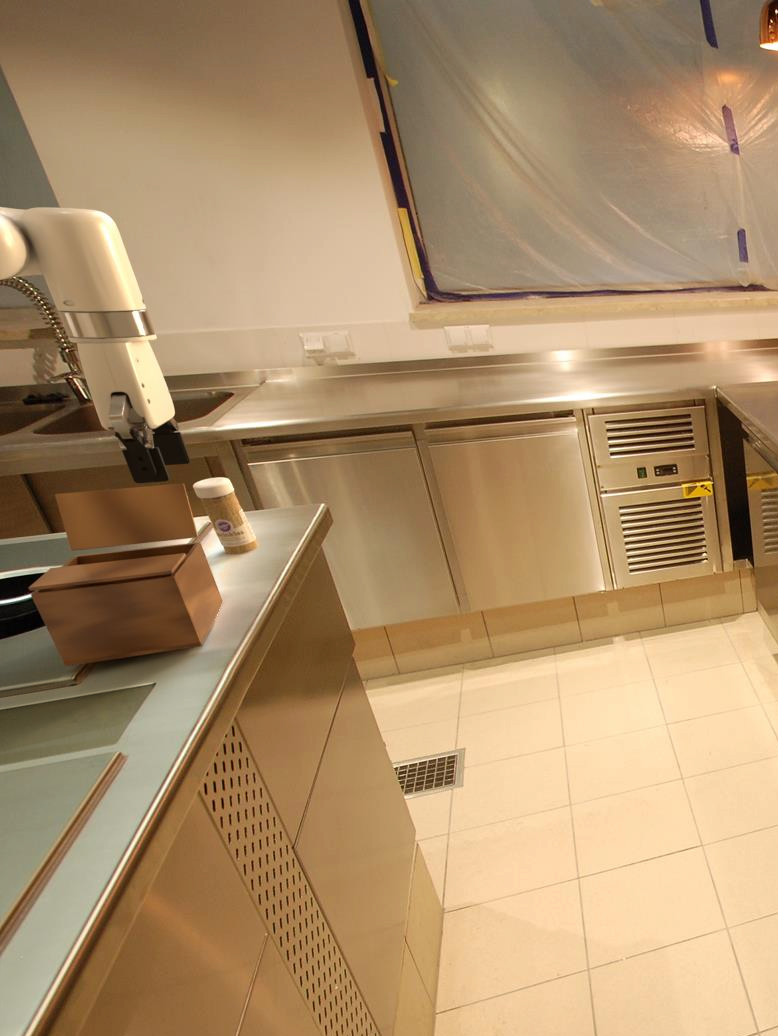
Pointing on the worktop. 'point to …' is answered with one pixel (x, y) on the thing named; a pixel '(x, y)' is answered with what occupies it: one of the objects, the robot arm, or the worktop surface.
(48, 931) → the worktop surface
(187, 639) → the brown wooden box
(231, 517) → the sprinkles bottle
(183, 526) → the flap
